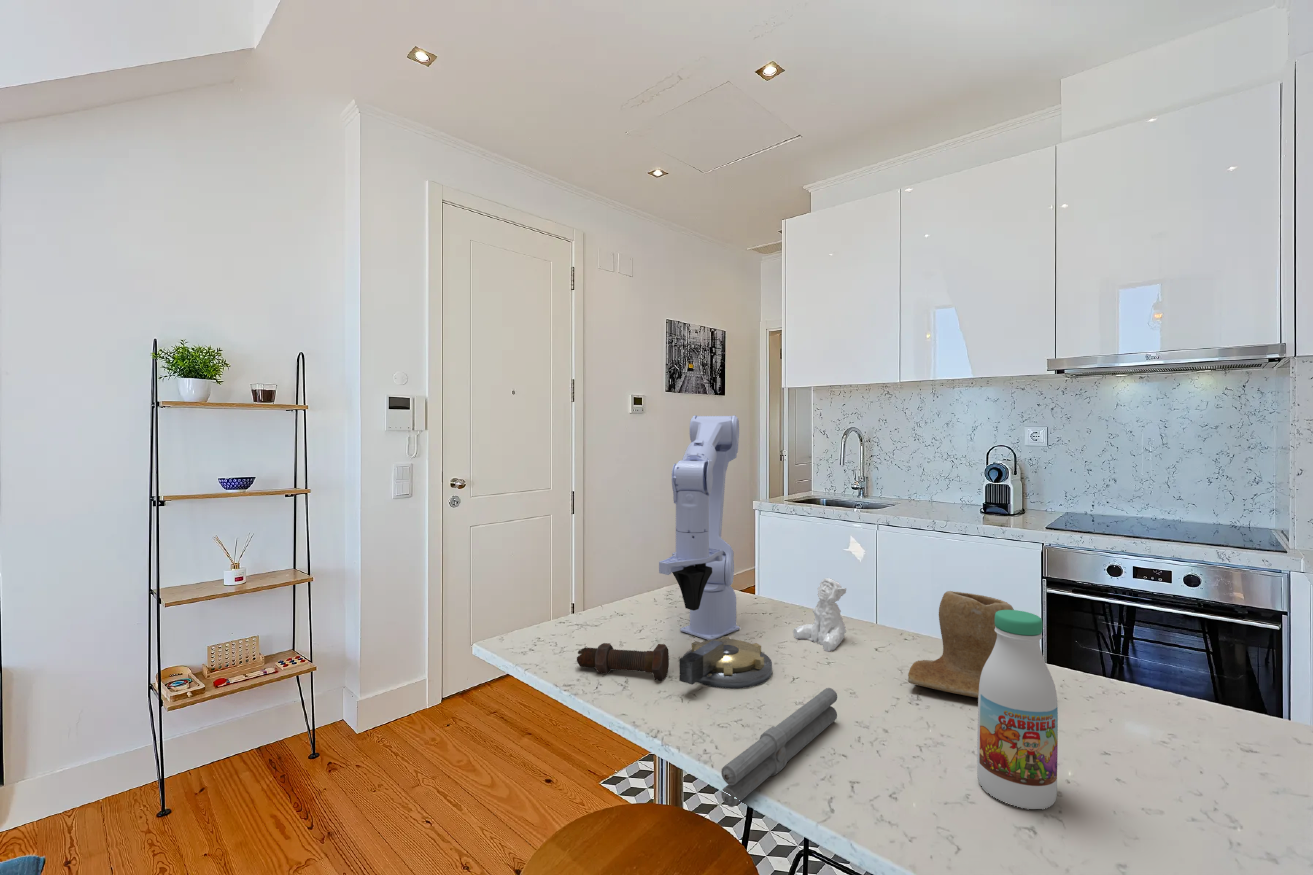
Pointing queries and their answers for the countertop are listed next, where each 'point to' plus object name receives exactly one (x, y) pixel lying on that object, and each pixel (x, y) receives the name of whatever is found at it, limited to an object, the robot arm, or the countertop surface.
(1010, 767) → the milk bottle
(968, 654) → the brown boot
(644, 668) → the bolt
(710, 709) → the countertop surface
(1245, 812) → the countertop surface
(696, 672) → the brass turntable dial
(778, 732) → the metal rod assembly
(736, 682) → the disc
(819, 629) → the seated beast figurine
